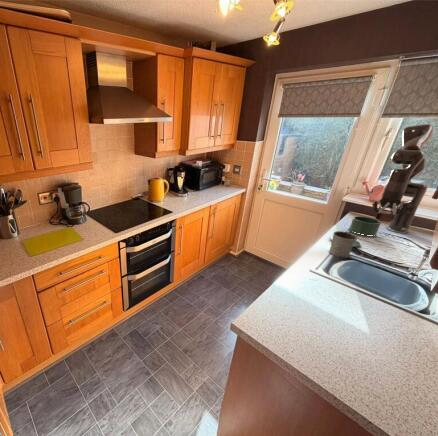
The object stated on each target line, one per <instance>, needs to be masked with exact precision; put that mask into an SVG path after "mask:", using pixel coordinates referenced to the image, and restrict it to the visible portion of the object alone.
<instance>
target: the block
mask: <svg viewBox="0 0 438 436" xmlns="http://www.w3.org/2000/svg"><path fill="white" fill-rule="evenodd" d="M393 215H394V214H392V213H391V211H388V210H387V211H386V210H383V211H382V212H381V215H380V218H379V220H378V221H380V222H384V223H390V222H391V219H392V217H393Z"/></svg>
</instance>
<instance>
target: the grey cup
mask: <svg viewBox="0 0 438 436" xmlns="http://www.w3.org/2000/svg"><path fill="white" fill-rule="evenodd" d="M347 232H348V231H341V230H338V231H334V232H333V233H332V234H333V235H332V236H333V239H332V241H331V244H330V247H329V254H330V255H332V256H334V257H337V258H341V259H347V258H349V256H350V254H351V252H352V249H353V248H354V247H353V245H354V244H355V242H356V241H358V236H357V235H356V234H353V233H351V232H349V233H347Z"/></svg>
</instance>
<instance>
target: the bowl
mask: <svg viewBox="0 0 438 436" xmlns="http://www.w3.org/2000/svg"><path fill="white" fill-rule="evenodd" d="M346 232H347V233H350V231H349V232H348V231H346ZM332 239H333V235H332V236H330V238H329V240H330V241H331V242H332ZM360 246H361V242H360V241H358V240H356V242H355V244H354V245H353V247H352V248H359V247H360Z"/></svg>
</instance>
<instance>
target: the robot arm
mask: <svg viewBox="0 0 438 436" xmlns="http://www.w3.org/2000/svg"><path fill="white" fill-rule="evenodd" d="M433 133H434V126H433V125H432V124H430V123H427V124H426V123H425V124H418V125H411V126H406V127H404V129H403V130H402V134H401V135H402V136H401V139H402V140H401V141H402V146H401V148H399V149H397V150H396V151H395V152H393V154H392V156H391V157H390V159H391V162H392V164H395V165H401V168H395V169H393V170H391V173H390V176H389V178H388V180H387V181H386V184H385V186H384V189H383V191H382V194H381V198H380V199H379V200H372V201H371V202H372V203H371V204H372V211H373V212H375V215H374V219H376V220H378V221H379V218H380V215H381V212H382V211H385V210H386V209H389V210H390V211H389V212H391V213H392V214H394V215H393V217H392V219H391V222H389V223H388V226H387V230H389V231H391V232H394V233H398V234H407V233H408V230H409V228H410V226H411V224H412V222H413V219H414V217H415V215H416V213H417V210H418V208H419V206H420V205H421V202H422V200H423V199H424V196H425V195H426V193H427V190H428V186H427V184H424V183H417V182H412V179H413V178H415V177H417V175H419V174H420V173H422V172H423V171H424V169H425V168H426V156H425V153H424V152H423V150H422V149H423V147H424V146H425V145H426V144H427V143H428V142H429V141H430V140H431V139H432V136H433ZM403 197H406V198H411V200H402V199H403ZM379 204H380V205H379ZM378 205H379V206H378Z"/></svg>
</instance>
